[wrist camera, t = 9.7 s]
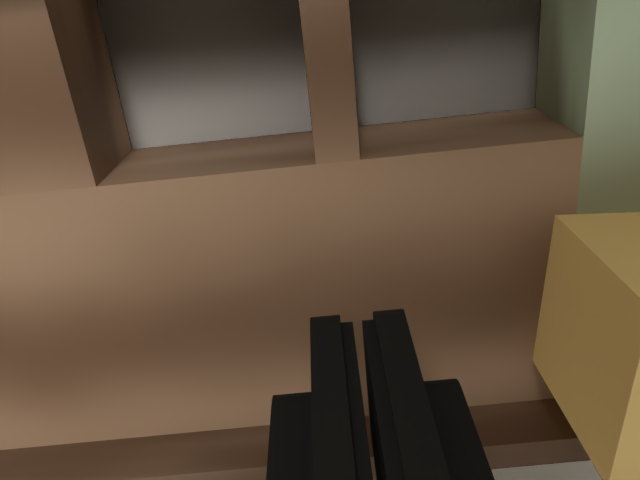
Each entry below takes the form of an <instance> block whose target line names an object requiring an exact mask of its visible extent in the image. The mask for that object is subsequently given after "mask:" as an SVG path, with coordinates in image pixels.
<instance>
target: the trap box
mask: <svg viewBox="0 0 640 480" xmlns="http://www.w3.org/2000/svg"><path fill="white" fill-rule="evenodd" d="M299 9H300V18H301V28H302V37H303V47H304V56H305V66H306V75H307V85H308V94H309V104H310V113H311V123H312V131H308V132H298V133H289V134H279V135H269V136H259V137H250V138H240V139H230V140H221V141H211V142H201V143H191V144H182V145H172V146H162V147H152V148H143V149H133V150H132V147H131V143H130V139H129V135H128V131H127V127H126V123H125V119H124V115H123V110H122V106H121V102H120V98H119V94H118V90H117V86H116V82H115V77H114V73H113V69H112V65H111V61H110V57H109V53H108V49H107V45H106V40H105V36H104V32H103V28H102V24H101V20H100V16H99V12H98V8H97V3H96V0H0V480H266V473H267V459H268V445H269V430H270V416H271V404H272V397H273V395H282V394H293V393H303V392H311V353H310V317H319V316H330V315H340V322H353V329H354V336H355V344H356V352H357V359H358V367H359V375H360V382H361V390H362V398H363V406H364V413H365V421H366V429H367V436H368V444H369V452H370V459H371V467H372V475H373V480H377V479H376V472H375V465H374V457H373V450H372V442H371V431H370V419H369V406H368V393H367V380H366V368H365V355H364V342H363V329H362V320H373V311H382V310H393V309H404V312H405V315H406V319H407V322H408V326H409V330H410V333H411V337H412V341H413V344H414V348H415V351H416V355H417V359H418V362H419V366H420V370H421V373H422V377H423V380H424V381H433V380H444V379H455V378H456V379H457V380H458V381H459V383H460V385H461V387H462V390H463V393H464V396H465V399H466V401H467V404H468V407H469V410H470V413H471V415H472V418H473V421H474V424H475V427H476V429H477V432H478V435H479V438H480V440H481V443H482V446H483V449H484V452H485V454H486V457H487V460H488V463H489V466H490V468H491V469H498V468H509V467H520V466H531V465H542V464H553V463H564V462H574V461H585V460H591V459H590V458H589V456H588V454H587V453H586V451H585V449H584V447H583V446H582V444H581V442H580V441H579V439H578V437H577V435H576V434H575V432H574V430H573V429H572V427H571V425H570V424H569V422H568V420H567V418H566V417H565V415H564V413H563V412H562V410H561V408H560V406H559V405H558V403H557V401H556V400H555V398H554V396H553V395H552V393H551V391H550V389H549V388H548V386H547V384H546V383H545V381H544V379H543V377H542V376H541V374H540V372H539V371H538V369H537V367H536V366H535V364H534V362H533V354H534V347H535V341H536V334H537V328H538V321H539V315H540V309H541V302H542V296H543V289H544V283H545V276H546V270H547V263H548V257H549V251H550V244H551V238H552V231H553V225H554V218H555V215H570V214H598V213H625V212H640V0H542V1H541V17H540V34H539V51H538V67H537V84H536V101H535V108H532V109H522V110H512V111H502V112H493V113H483V114H473V115H464V116H454V117H444V118H434V119H425V120H415V121H405V122H396V123H386V124H376V125H366V126H358V122H357V108H356V94H355V80H354V66H353V52H352V37H351V23H350V9H349V0H299Z"/></svg>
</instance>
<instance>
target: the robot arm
mask: <svg viewBox="0 0 640 480" xmlns="http://www.w3.org/2000/svg"><path fill="white" fill-rule="evenodd" d="M362 329H363V342H364V355H365V368H366V380H367V393H368V406H369V419H370V431H371V442H372V450H373V457H374V465H375V472H376V479H377V480H494V477H493V474H492V471H491V468H490V466H489V463H488V460H487V457H486V454H485V452H484V449H483V446H482V443H481V440H480V438H479V435H478V432H477V429H476V427H475V424H474V421H473V418H472V415H471V413H470V410H469V407H468V404H467V401H466V399H465V396H464V393H463V390H462V387H461V385H460V383H459V381H458V380H457V379H456V378H455V379H444V380H433V381H424V380H423V377H422V373H421V370H420V366H419V362H418V359H417V355H416V351H415V348H414V344H413V341H412V337H411V333H410V330H409V326H408V322H407V319H406V315H405V312H404V309H393V310H382V311H373V320H362ZM310 353H311V392H303V393H293V394H282V395H273V397H272V404H271V416H270V430H269V445H268V459H267V473H266V480H373V475H372V467H371V459H370V452H369V444H368V436H367V429H366V421H365V413H364V406H363V398H362V390H361V382H360V375H359V367H358V359H357V352H356V344H355V336H354V329H353V322H340V315H330V316H319V317H310Z"/></svg>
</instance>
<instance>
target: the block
mask: <svg viewBox="0 0 640 480" xmlns="http://www.w3.org/2000/svg"><path fill="white" fill-rule="evenodd" d="M533 362H534V364H535V366H536V367H537V369H538V371H539V372H540V374H541V376H542V377H543V379H544V381H545V383H546V384H547V386H548V388H549V389H550V391H551V393H552V395H553V396H554V398H555V400H556V401H557V403H558V405H559V406H560V408H561V410H562V412H563V413H564V415H565V417H566V418H567V420H568V422H569V424H570V425H571V427H572V429H573V430H574V432H575V434H576V435H577V437H578V439H579V441H580V442H581V444H582V446H583V447H584V449H585V451H586V453H587V454H588V456H589V458H590V459H591V461H592V463H593V465H594V466H595V468H596V470H597V471H598V473H599V475H600V476H601V478H602V480H640V212H625V213H598V214H570V215H555V218H554V225H553V231H552V238H551V244H550V251H549V257H548V263H547V270H546V276H545V283H544V289H543V296H542V302H541V309H540V315H539V321H538V328H537V334H536V341H535V347H534V354H533Z"/></svg>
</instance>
